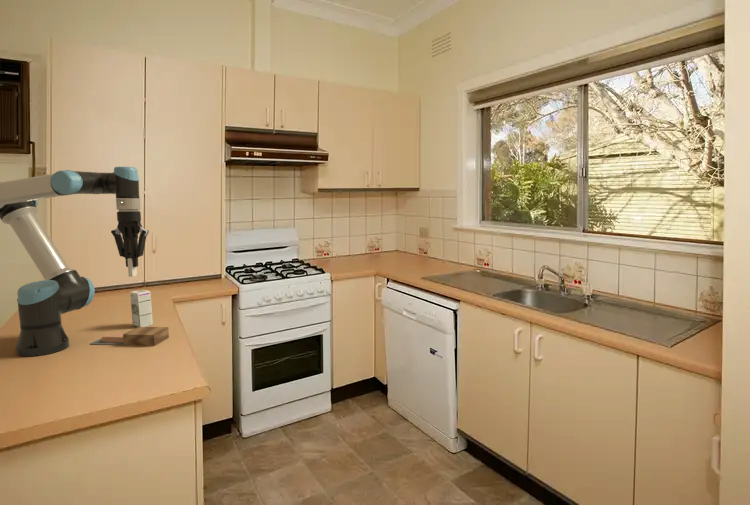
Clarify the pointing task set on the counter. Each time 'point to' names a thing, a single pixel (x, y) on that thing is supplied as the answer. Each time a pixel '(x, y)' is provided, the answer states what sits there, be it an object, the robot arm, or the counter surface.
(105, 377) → the counter surface
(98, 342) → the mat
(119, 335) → the salmon orange flat block
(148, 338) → the brown wooden flat block
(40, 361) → the counter surface
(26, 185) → the robot arm
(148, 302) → the syrup box
